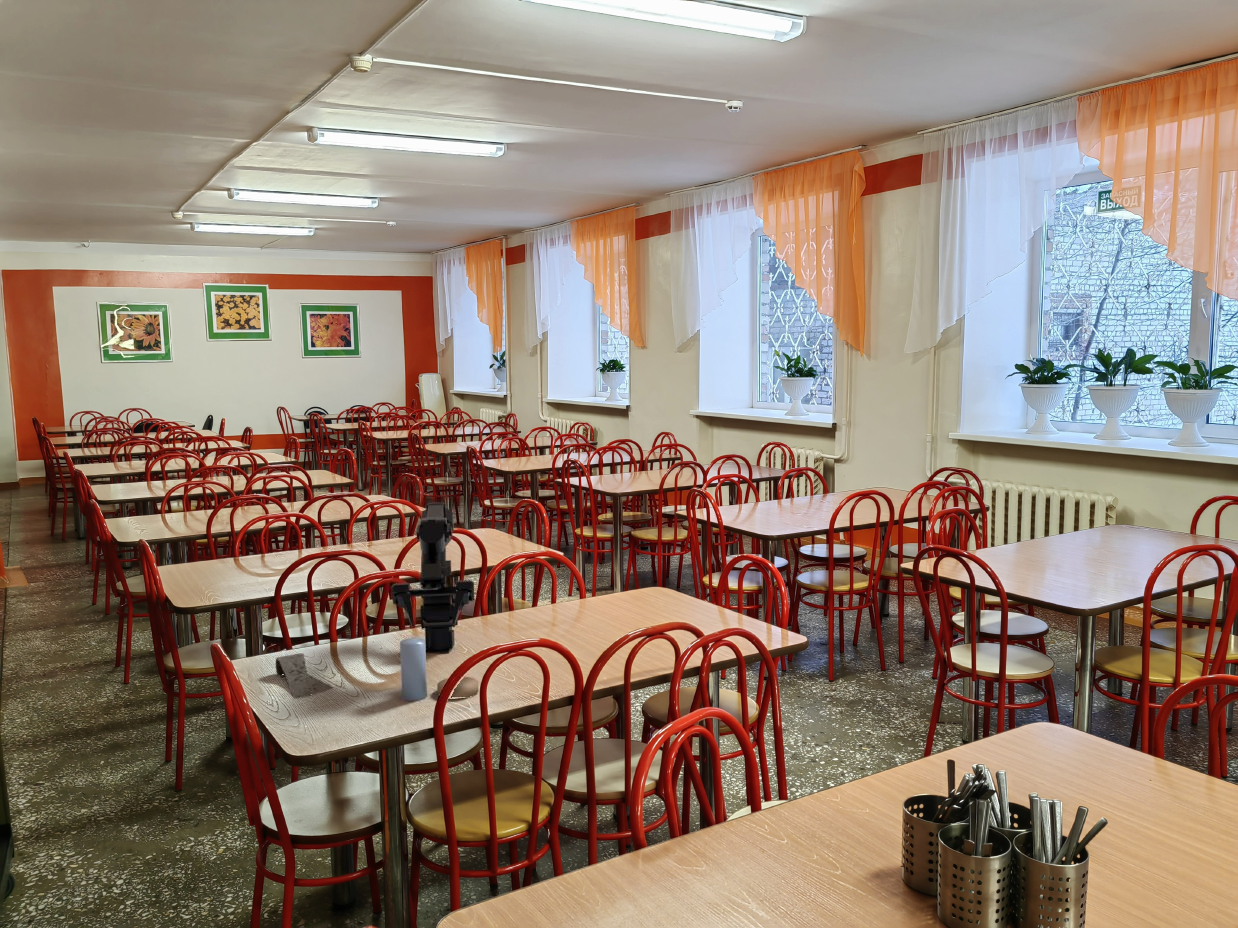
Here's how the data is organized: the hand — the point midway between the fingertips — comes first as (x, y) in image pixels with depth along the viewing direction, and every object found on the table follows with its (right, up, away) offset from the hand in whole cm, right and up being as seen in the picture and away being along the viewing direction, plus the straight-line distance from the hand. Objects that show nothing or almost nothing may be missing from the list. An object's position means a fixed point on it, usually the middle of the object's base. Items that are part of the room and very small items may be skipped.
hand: (433, 625), depth 213 cm
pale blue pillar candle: (-3, -15, -6) cm, 16 cm away
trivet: (+6, -14, -4) cm, 16 cm away
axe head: (-30, -14, +3) cm, 34 cm away
